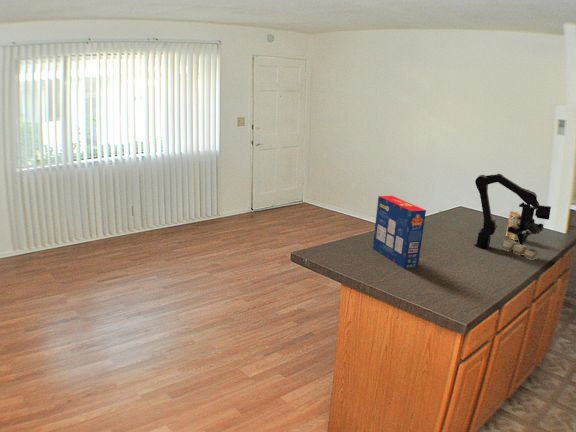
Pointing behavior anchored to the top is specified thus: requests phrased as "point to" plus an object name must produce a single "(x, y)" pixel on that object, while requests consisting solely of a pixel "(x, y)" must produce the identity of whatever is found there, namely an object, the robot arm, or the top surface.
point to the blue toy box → (399, 231)
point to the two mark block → (509, 245)
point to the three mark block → (531, 253)
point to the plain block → (519, 249)
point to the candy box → (513, 224)
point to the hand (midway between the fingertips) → (521, 244)
